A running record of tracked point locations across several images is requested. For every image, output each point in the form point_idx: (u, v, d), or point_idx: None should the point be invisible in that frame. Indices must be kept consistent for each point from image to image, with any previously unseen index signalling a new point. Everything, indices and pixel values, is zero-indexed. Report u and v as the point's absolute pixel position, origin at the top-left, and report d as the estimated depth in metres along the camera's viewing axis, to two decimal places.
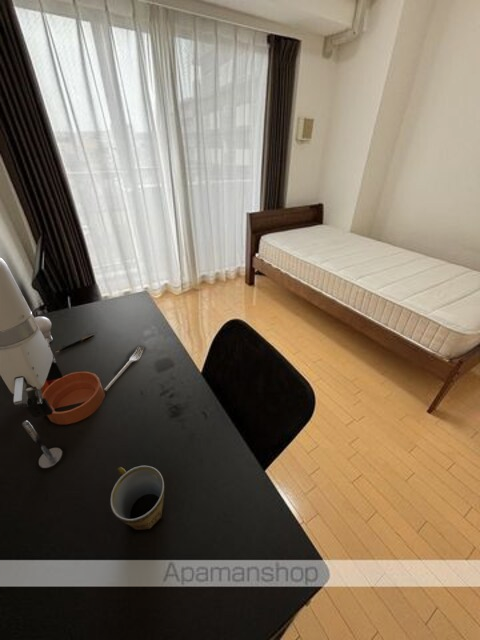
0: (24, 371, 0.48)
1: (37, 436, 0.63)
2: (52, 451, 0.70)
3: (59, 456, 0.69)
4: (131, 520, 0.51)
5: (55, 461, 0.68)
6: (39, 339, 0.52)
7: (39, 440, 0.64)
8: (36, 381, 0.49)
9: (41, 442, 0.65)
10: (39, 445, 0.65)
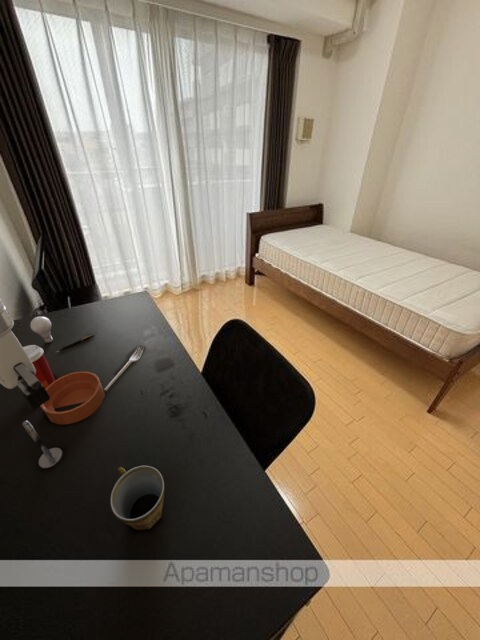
0: (21, 356, 0.49)
1: (37, 436, 0.63)
2: (52, 451, 0.70)
3: (59, 456, 0.69)
4: (131, 520, 0.51)
5: (55, 461, 0.68)
6: None
7: (39, 440, 0.64)
8: (32, 364, 0.51)
9: (41, 442, 0.65)
10: (39, 445, 0.65)
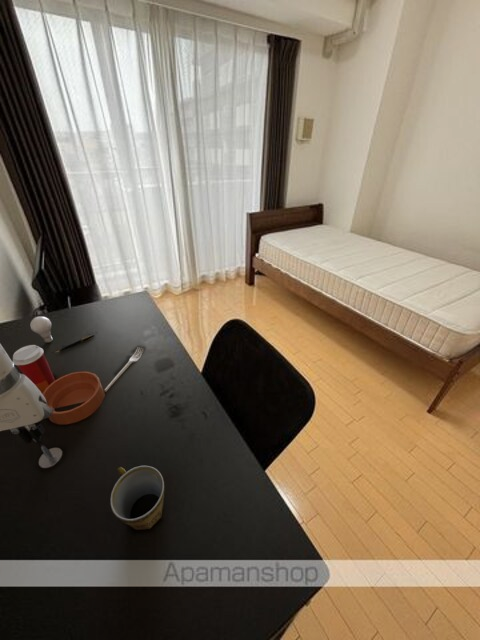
0: (38, 390, 0.58)
1: None
2: (52, 451, 0.70)
3: (59, 456, 0.69)
4: (131, 520, 0.51)
5: (56, 461, 0.68)
6: None
7: None
8: (43, 396, 0.60)
9: (41, 442, 0.65)
10: (39, 445, 0.65)
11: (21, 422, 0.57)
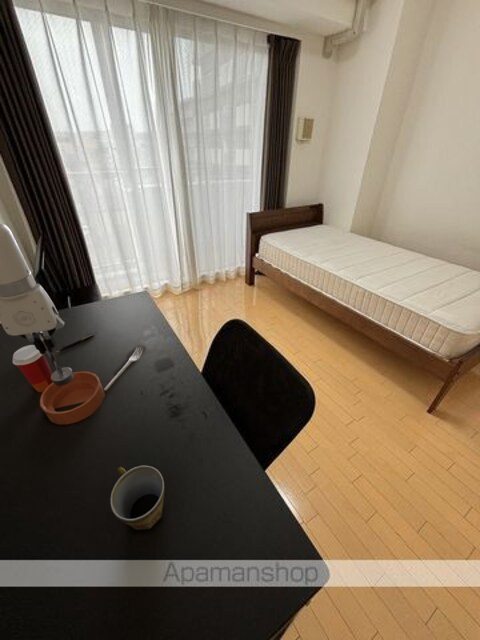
0: (51, 301, 0.65)
1: None
2: (63, 369, 0.77)
3: (69, 373, 0.76)
4: (131, 520, 0.51)
5: (66, 376, 0.75)
6: None
7: (52, 353, 0.71)
8: (56, 309, 0.68)
9: (53, 356, 0.72)
10: (51, 358, 0.72)
11: (37, 327, 0.64)
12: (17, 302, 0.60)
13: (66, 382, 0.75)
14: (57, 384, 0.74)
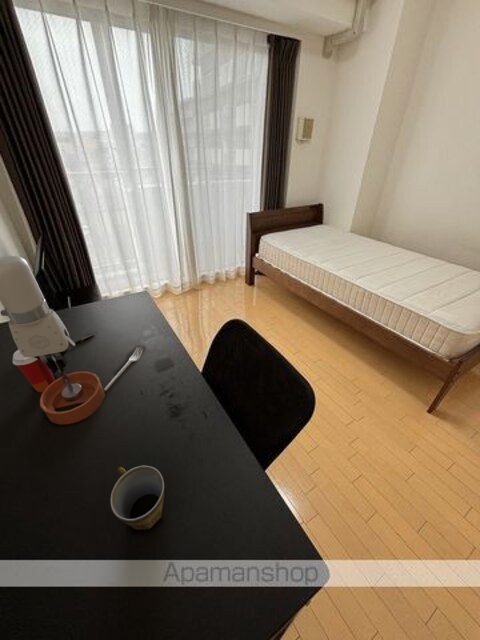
0: (63, 325, 0.70)
1: None
2: (72, 386, 0.81)
3: (79, 389, 0.80)
4: (131, 520, 0.51)
5: (76, 392, 0.79)
6: None
7: (63, 372, 0.76)
8: (67, 331, 0.72)
9: (64, 374, 0.76)
10: (63, 376, 0.76)
11: (50, 349, 0.68)
12: (33, 328, 0.64)
13: (76, 398, 0.79)
14: (67, 400, 0.79)
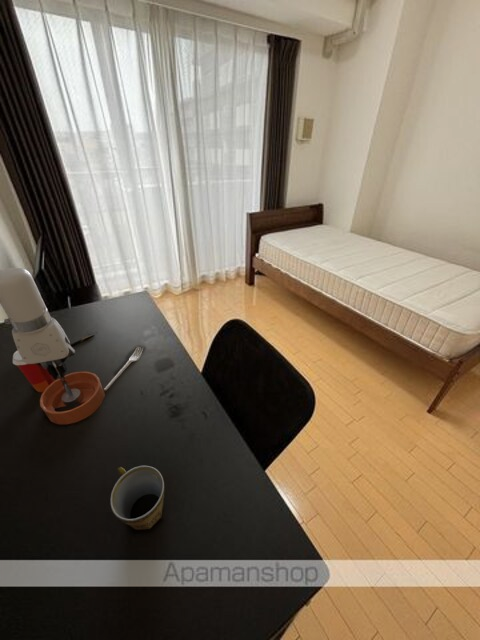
0: (64, 332, 0.73)
1: None
2: (72, 391, 0.84)
3: (78, 394, 0.83)
4: (131, 520, 0.51)
5: (75, 397, 0.82)
6: None
7: (63, 377, 0.78)
8: None
9: (64, 379, 0.79)
10: (63, 382, 0.79)
11: (51, 356, 0.71)
12: (35, 336, 0.67)
13: (75, 403, 0.82)
14: (67, 405, 0.82)
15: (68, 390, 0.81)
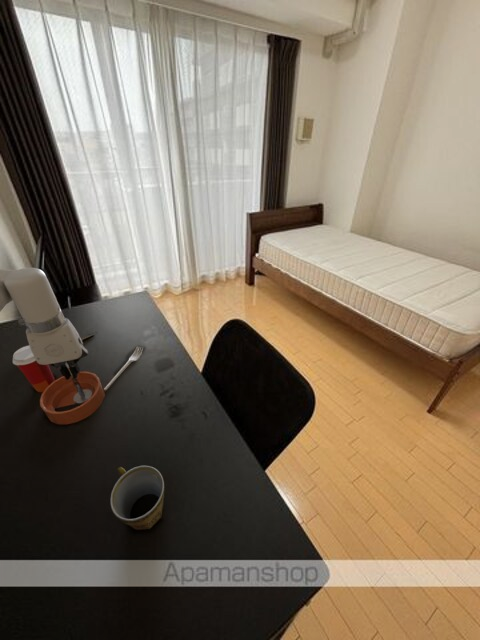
0: (77, 333, 0.72)
1: None
2: (84, 391, 0.83)
3: (90, 395, 0.82)
4: (131, 520, 0.51)
5: (87, 398, 0.81)
6: None
7: (75, 378, 0.78)
8: (80, 339, 0.74)
9: (77, 380, 0.78)
10: (75, 383, 0.78)
11: (64, 357, 0.70)
12: (49, 337, 0.66)
13: None
14: (79, 405, 0.81)
15: (80, 391, 0.80)
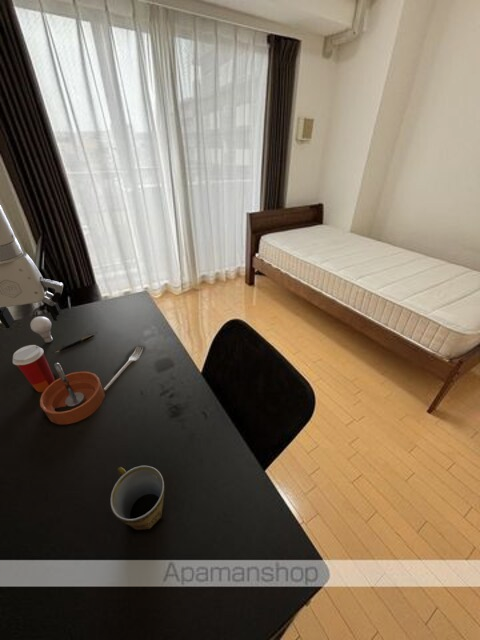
0: (39, 272, 0.62)
1: (65, 377, 0.77)
2: (75, 394, 0.83)
3: (82, 398, 0.82)
4: (131, 520, 0.51)
5: (79, 401, 0.81)
6: None
7: (66, 381, 0.78)
8: None
9: (68, 383, 0.78)
10: (66, 386, 0.78)
11: (23, 299, 0.60)
12: (2, 270, 0.56)
13: None
14: (71, 408, 0.81)
15: (72, 394, 0.80)
